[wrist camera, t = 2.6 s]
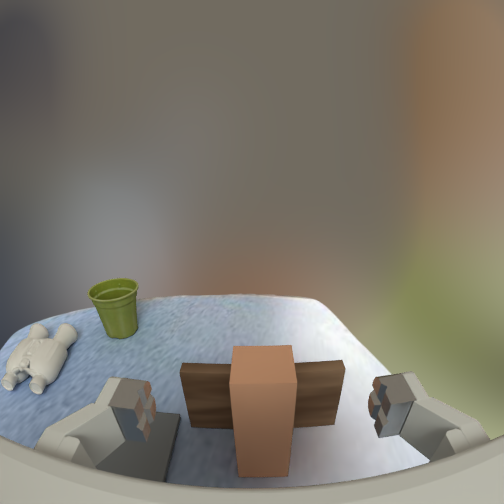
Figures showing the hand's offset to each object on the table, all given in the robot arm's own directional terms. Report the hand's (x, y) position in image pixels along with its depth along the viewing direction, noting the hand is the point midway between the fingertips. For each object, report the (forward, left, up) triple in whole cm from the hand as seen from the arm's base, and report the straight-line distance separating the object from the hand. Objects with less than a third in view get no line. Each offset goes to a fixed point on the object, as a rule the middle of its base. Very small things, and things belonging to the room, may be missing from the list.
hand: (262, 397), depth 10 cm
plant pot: (+45, +8, -22) cm, 51 cm away
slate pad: (+17, +10, -22) cm, 30 cm away
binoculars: (+37, +23, -23) cm, 49 cm away
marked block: (+11, -5, -22) cm, 25 cm away
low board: (+16, -7, -22) cm, 28 cm away
